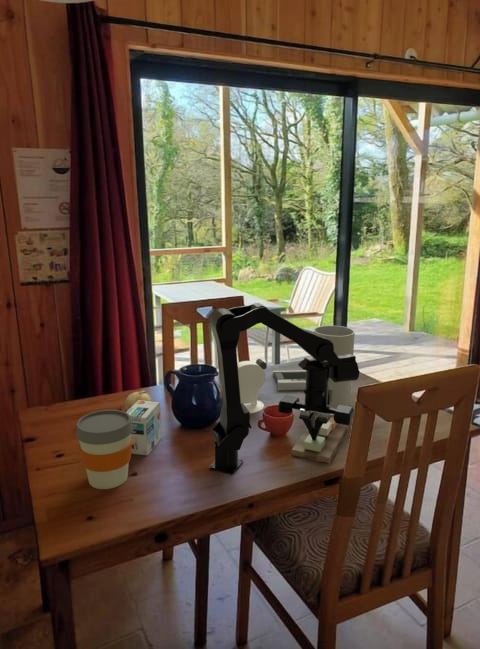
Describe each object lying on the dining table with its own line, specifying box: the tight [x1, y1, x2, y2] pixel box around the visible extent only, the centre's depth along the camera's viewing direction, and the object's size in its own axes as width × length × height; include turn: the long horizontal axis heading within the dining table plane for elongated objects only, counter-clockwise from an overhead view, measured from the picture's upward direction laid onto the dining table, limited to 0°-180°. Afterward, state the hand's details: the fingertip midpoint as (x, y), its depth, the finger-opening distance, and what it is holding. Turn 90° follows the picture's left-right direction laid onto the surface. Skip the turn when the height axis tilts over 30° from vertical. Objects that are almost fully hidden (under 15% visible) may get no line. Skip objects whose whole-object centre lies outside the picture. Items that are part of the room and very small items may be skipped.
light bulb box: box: [125, 400, 162, 456], centre depth 131 cm, size 11×7×11 cm, turn 168°
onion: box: [124, 388, 153, 411], centre depth 152 cm, size 8×8×7 cm
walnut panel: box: [291, 418, 349, 464], centre depth 134 cm, size 20×10×2 cm, turn 155°
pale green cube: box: [304, 434, 326, 452], centre depth 128 cm, size 4×4×4 cm
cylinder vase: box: [311, 325, 356, 409], centre depth 155 cm, size 12×12×25 cm
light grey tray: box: [272, 369, 306, 391], centre depth 178 cm, size 17×5×16 cm
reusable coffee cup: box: [76, 409, 133, 490], centre depth 115 cm, size 13×13×15 cm
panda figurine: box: [237, 358, 268, 415], centre depth 155 cm, size 12×11×15 cm
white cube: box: [318, 422, 332, 438], centre depth 133 cm, size 4×4×4 cm
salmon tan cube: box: [328, 416, 338, 431], centre depth 139 cm, size 4×4×4 cm
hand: (314, 439), depth 128 cm, fingers closed, pressing on pale green cube
